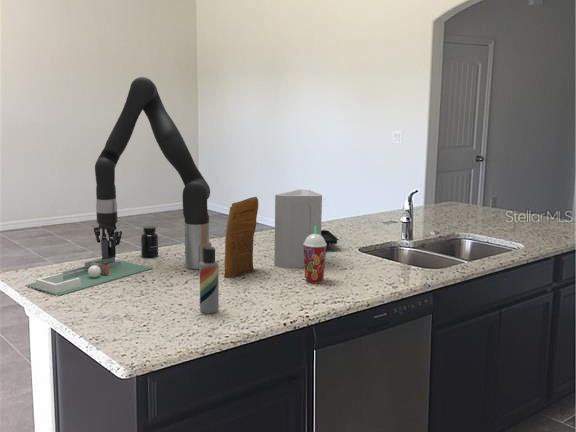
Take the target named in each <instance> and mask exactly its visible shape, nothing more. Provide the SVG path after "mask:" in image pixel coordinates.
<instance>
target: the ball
mask: <svg viewBox="0 0 576 432" xmlns="http://www.w3.org/2000/svg"><path fill="white" fill-rule="evenodd" d="M100 273H101V269H100V267H99V266H97V265H93V266H91V267H90V268H89V269H88V274H89V276H91V277H93V278H95V277H98V276H99V275H100Z"/></svg>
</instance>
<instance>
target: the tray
mask: <svg viewBox="0 0 576 432" xmlns="http://www.w3.org/2000/svg"><path fill="white" fill-rule="evenodd" d="M321 236H322V237H323V238H324V240H325V242H326V243H327V245H326V247H327V246H330V245H335V244H338V241H339V240H340V239H339V238H338V237H337V236H336V235H334V234H333V233H332V232H330V231H329V230H327V229H325V230H323V229H321Z"/></svg>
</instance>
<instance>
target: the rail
mask: <svg viewBox="0 0 576 432" xmlns="http://www.w3.org/2000/svg"><path fill="white" fill-rule="evenodd" d="M121 261H122V260H115V262H112V263H108V264H109V268H111V267H114V266H118V265H121ZM88 269H89V268H85V265H84V266H80V267H76V268H72V269H68V270H66V271H61V272H57V273H53V274H50V275H49V276H51V275H55V274H59V273H63V280H66V279H70V278H73V277H77V276H81V275H85V274H88Z"/></svg>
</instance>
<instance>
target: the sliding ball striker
mask: <svg viewBox="0 0 576 432" xmlns="http://www.w3.org/2000/svg"><path fill="white" fill-rule="evenodd" d="M112 243H113V240H112ZM109 247H110V246H109V241H107V238H106V239H101V244H100V248H101V257H100V258H96V259H92V260H89V261H85V262H84V266H85V268H90V267H91V266H93V265H97V266H99V267H100V269H101V273H100V274H103V275H108V274H109V264H108V263H112V262H115V261H116V257H117V255H116V254H115V256H110V255H109Z"/></svg>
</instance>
